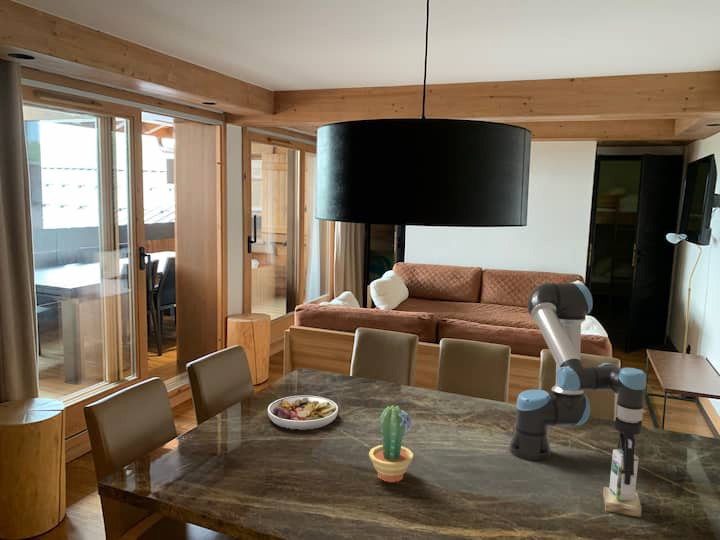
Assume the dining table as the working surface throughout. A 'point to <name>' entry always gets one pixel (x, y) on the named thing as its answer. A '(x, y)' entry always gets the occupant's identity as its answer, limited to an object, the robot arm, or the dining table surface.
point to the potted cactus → (392, 445)
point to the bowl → (302, 412)
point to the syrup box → (617, 476)
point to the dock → (622, 504)
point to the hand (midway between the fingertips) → (623, 482)
